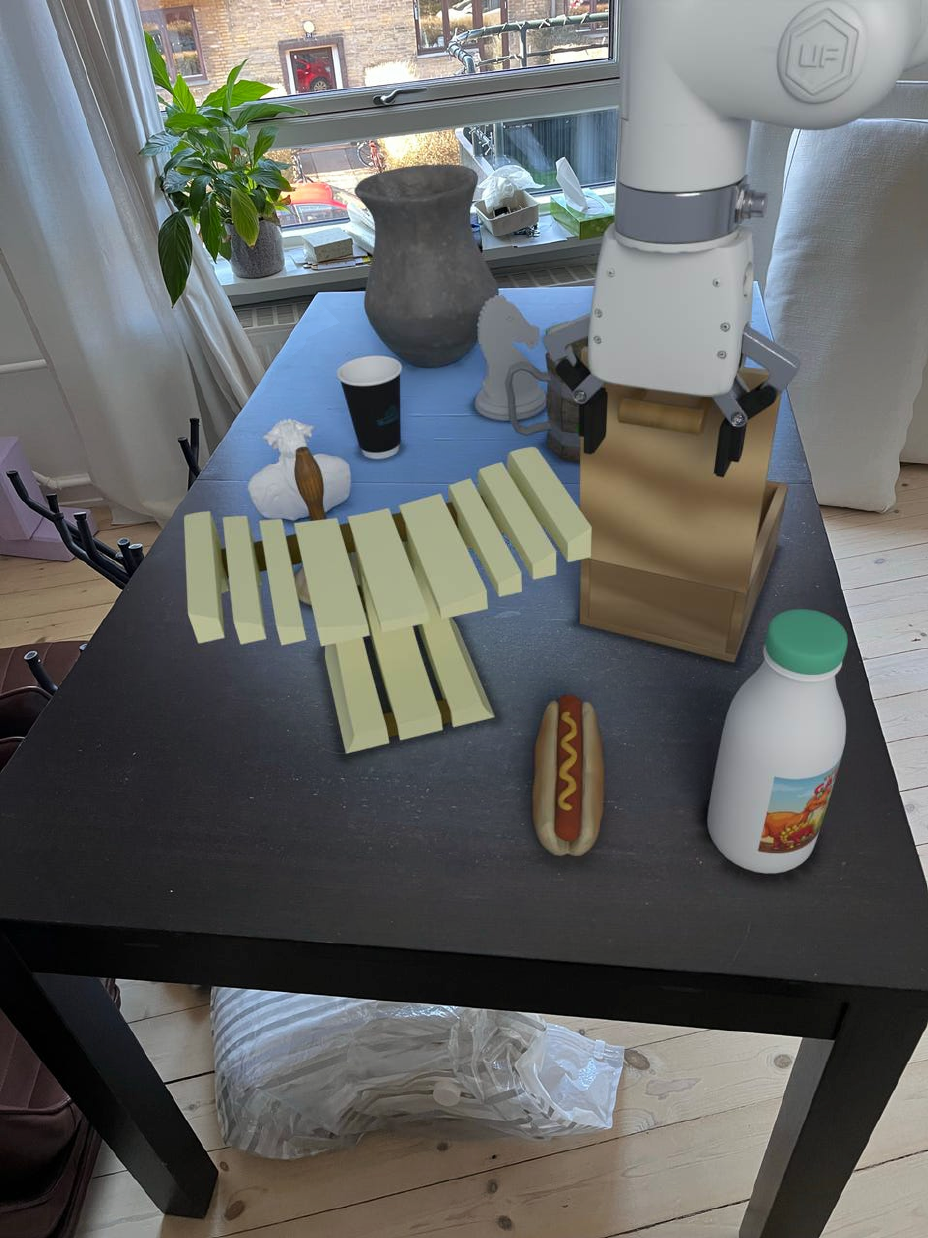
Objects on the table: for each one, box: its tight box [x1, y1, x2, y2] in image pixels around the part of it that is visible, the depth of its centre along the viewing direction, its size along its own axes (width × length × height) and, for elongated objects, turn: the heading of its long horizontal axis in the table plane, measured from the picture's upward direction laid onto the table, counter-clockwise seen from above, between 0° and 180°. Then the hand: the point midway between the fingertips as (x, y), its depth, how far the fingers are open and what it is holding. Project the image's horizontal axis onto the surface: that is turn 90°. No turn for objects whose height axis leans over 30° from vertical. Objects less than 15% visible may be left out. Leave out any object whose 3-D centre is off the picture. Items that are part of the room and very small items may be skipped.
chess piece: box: [474, 294, 547, 422], centre depth 116 cm, size 10×10×15 cm
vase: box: [354, 163, 500, 368], centre depth 126 cm, size 20×19×25 cm
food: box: [531, 694, 606, 857], centre depth 68 cm, size 14×6×5 cm, turn 174°
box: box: [578, 479, 790, 664], centre depth 86 cm, size 19×15×8 cm
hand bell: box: [294, 446, 360, 607], centre depth 88 cm, size 8×8×16 cm
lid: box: [579, 346, 783, 593], centre depth 69 cm, size 20×15×5 cm
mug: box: [505, 337, 588, 464], centre depth 108 cm, size 16×11×12 cm
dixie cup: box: [336, 355, 403, 460], centre depth 110 cm, size 8×8×11 cm
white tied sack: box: [246, 418, 352, 521], centre depth 102 cm, size 12×8×11 cm
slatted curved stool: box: [183, 446, 592, 754], centre depth 76 cm, size 30×16×18 cm, turn 105°
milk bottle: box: [706, 608, 848, 874], centre depth 59 cm, size 8×8×20 cm
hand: (657, 456), depth 65 cm, fingers open, 9 cm apart
